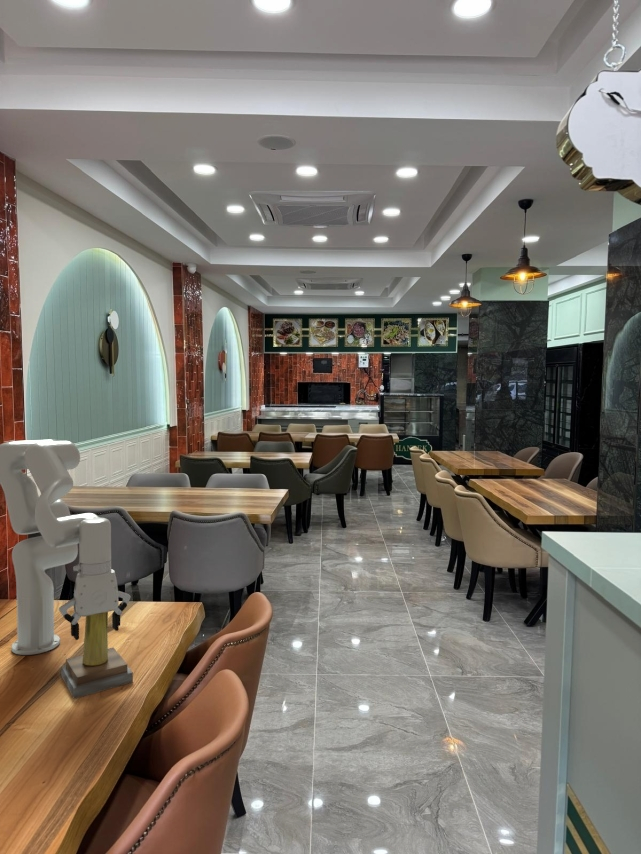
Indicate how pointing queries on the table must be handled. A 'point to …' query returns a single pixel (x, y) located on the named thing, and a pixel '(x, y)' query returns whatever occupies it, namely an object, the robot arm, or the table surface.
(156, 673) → the table surface
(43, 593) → the robot arm
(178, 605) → the table surface
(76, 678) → the stand
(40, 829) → the table surface
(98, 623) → the vase
